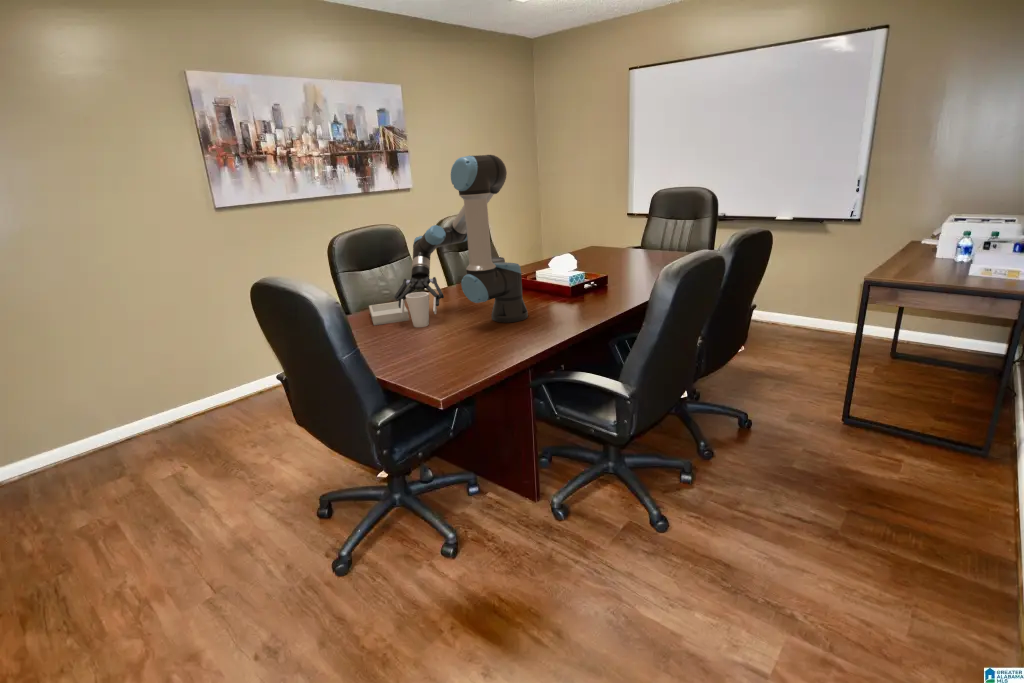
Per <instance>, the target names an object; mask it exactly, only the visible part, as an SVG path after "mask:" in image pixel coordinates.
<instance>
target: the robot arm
mask: <svg viewBox="0 0 1024 683" xmlns="http://www.w3.org/2000/svg"><path fill="white" fill-rule="evenodd" d="M507 172H508V171H507V168H506V165H505V163H504V161H503V160H502V159H501V158H500V157H499V156H496V155H495V154H485V155H484V154H483V155H480V154H479V155H465V156H460V157H458V158H457V159H455V161H454V162H453V164H452V166H451V170H450V182H451V184H452V185H453V188H454V189H455V190H457V191H458V196H459V197H460V198H461V199H462V200H463V206H462V207H461V209H460V211H459V212H458V213H457V216H456V217H455V218H454V220H453V221H452V223H451V224H450V226H447V227H442V226H441V225H437V224H434V225H431V226H430V227H429V228H428V229H427V230H426V231H425V232H424V234H423V235H419V236H415V238H414V240H413V244H412V262H411V263H412V265H411V275H410V276H411V278H410V279H407V278H403V281H402V284H401V285H400V287H399V288H398V290H397V292H396V293H395V295H394V299H395V300H396V301H395V302H398V301H399V305H398V306H399V308H401V310H400V313H401V315H402V316H404V305H405V301H406V295H407V294H410V293H413V292H415V290H417V291H419V290H422V291H423V290H425V289H426V290H427V291H428V293H429V294H431V295H432V296H433V307H432V308H433V314H434V315H437V307H439V306H440V300H441V299H444V298H445V296H444V293H443V291H442V289H441V288H440V285H439V284H438V281H437V278H436V276H433V277H432V278H430V270H431V256H432V254H433V252H434V251H435V250H437V248H440V247H447V246H450V245H456V244H461V243H464V242H467V251H468V260H469V264H468V265H467V266H466V268H465V269H466V274H465V275H464V276H463V277H462V279H461V282H460V283H461V290H462V292H463V295H464V296H465V297H466V298H467V299H468V301H470V302H472V303H474V304H479V303H484V302H487V301H490V300H493V299H494V303H493V305H492V306H493V307H492V310H491V319H492V321H494V322H497V323H516V322H521V321H524V320H526V319H527V318H528V317H529V314H528V309H527V306H526V304H525V301H524V299H523V298H524V297H523V282H522V280H523V279H522V274H523V273H522V269H521V265H520V264H519V263H517V262H516V263H515V262H508V261H507V262H506V261H505V262H499V263H492V259H491V257H492V249H491V248H492V247H491V236H490V234H491V232H490V225H489V224H490V222H489V211H488V210H489V209H488V204H489V202H491V200H492V198H493V197H494V195H498V194H499V192H500V191H501V190H502V188H503V186H504V185H505V182H506V180H507V176H508V175H507ZM430 283H431V284H432V285H433V286H434V288H435V289H436V291H437V292H438V293H437V292H436V291H435V289H433V288H432V287H431V286H430ZM409 284H410V285H409ZM407 287H408V288H407ZM405 306H406V305H405Z"/></svg>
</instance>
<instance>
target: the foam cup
mask: <svg viewBox="0 0 1024 683" xmlns="http://www.w3.org/2000/svg"><path fill="white" fill-rule="evenodd" d="M405 301H406V303H407V306H408V312H409V314H410V315H409V316H410V317H411V321H412V326H413V328H425V327H427V326H429V323H430V292H426V291H418V292H417V291H416V292H415V291H414V292H411V293H410V294H407V295H406V299H405Z"/></svg>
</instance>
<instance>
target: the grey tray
mask: <svg viewBox="0 0 1024 683" xmlns="http://www.w3.org/2000/svg"><path fill="white" fill-rule="evenodd" d="M398 305H399V301H393V302H386V303H384V302H383V303H378V304H371V305H368V308H369V309H368V310H369V315H370V316H371V317H370V318H371V321H372V323H373V326H381V325H386V324H387V325H388V324H394V323H399V322H400V323H401V322H406V321H407V322H408V321H410V315H409V314H410V313H409V309H408V308H407V307H406V305H404V316H402V315H401V313H400V310H401V308H399V306H398Z"/></svg>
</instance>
